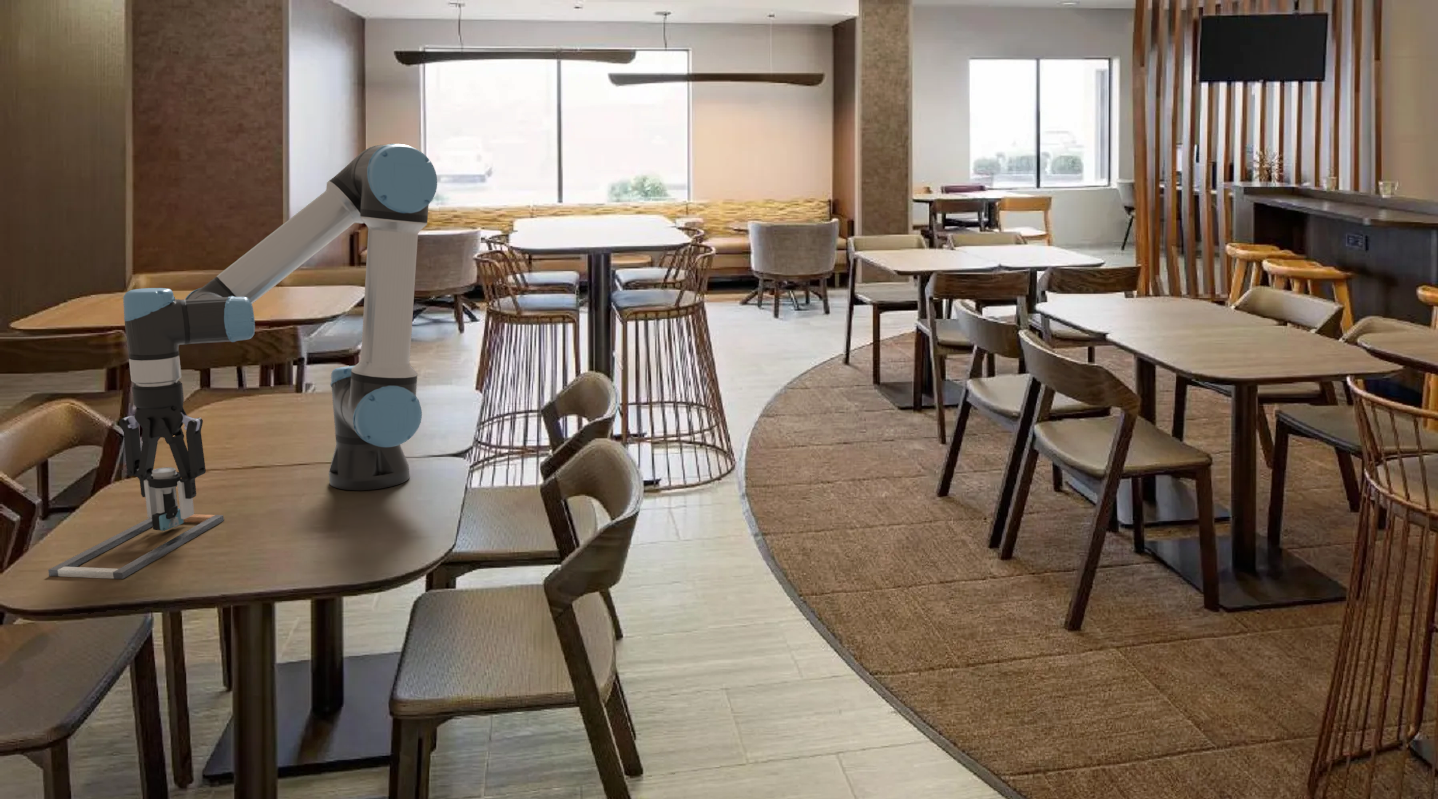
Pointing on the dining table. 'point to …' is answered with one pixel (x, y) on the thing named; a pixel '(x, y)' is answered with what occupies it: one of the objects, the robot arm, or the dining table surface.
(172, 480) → the push button
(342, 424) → the robot arm
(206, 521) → the open rectangular frame
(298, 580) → the dining table surface
